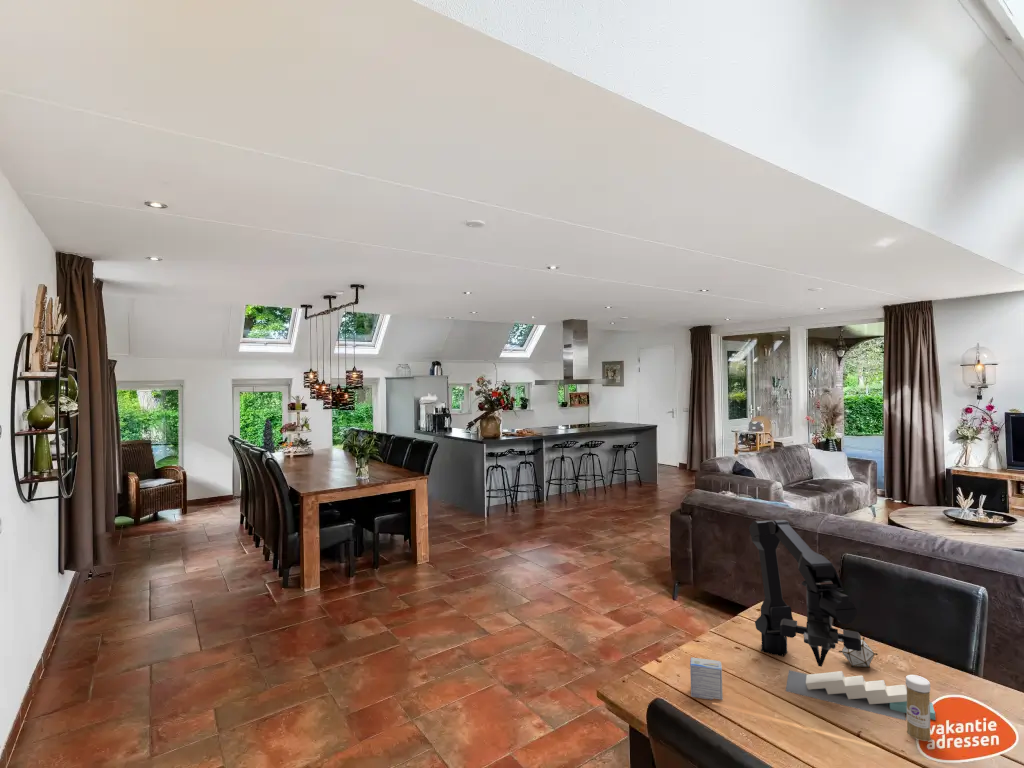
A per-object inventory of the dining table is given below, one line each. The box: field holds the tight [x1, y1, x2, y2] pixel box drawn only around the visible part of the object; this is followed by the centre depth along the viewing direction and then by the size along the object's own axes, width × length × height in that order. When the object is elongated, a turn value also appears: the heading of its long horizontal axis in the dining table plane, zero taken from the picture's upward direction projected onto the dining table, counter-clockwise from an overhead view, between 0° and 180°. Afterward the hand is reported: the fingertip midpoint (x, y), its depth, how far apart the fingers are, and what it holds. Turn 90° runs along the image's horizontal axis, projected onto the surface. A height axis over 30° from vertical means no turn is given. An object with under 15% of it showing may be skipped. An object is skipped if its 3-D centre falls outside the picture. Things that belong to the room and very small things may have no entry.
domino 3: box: [846, 679, 888, 699], centre depth 140 cm, size 2×5×9 cm
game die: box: [838, 636, 879, 668], centre depth 157 cm, size 9×8×10 cm
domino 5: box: [889, 701, 936, 721], centre depth 135 cm, size 2×5×9 cm
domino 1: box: [806, 670, 846, 690], centre depth 145 cm, size 2×5×9 cm
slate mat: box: [785, 669, 907, 721], centre depth 143 cm, size 26×12×1 cm, turn 59°
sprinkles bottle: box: [905, 674, 932, 742], centre depth 125 cm, size 5×5×14 cm
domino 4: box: [867, 684, 907, 704], centre depth 138 cm, size 2×5×9 cm
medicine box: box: [689, 657, 724, 701], centre depth 144 cm, size 8×4×9 cm, turn 71°
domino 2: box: [826, 675, 866, 694], centre depth 142 cm, size 2×5×9 cm
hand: (820, 665), depth 145 cm, fingers closed
